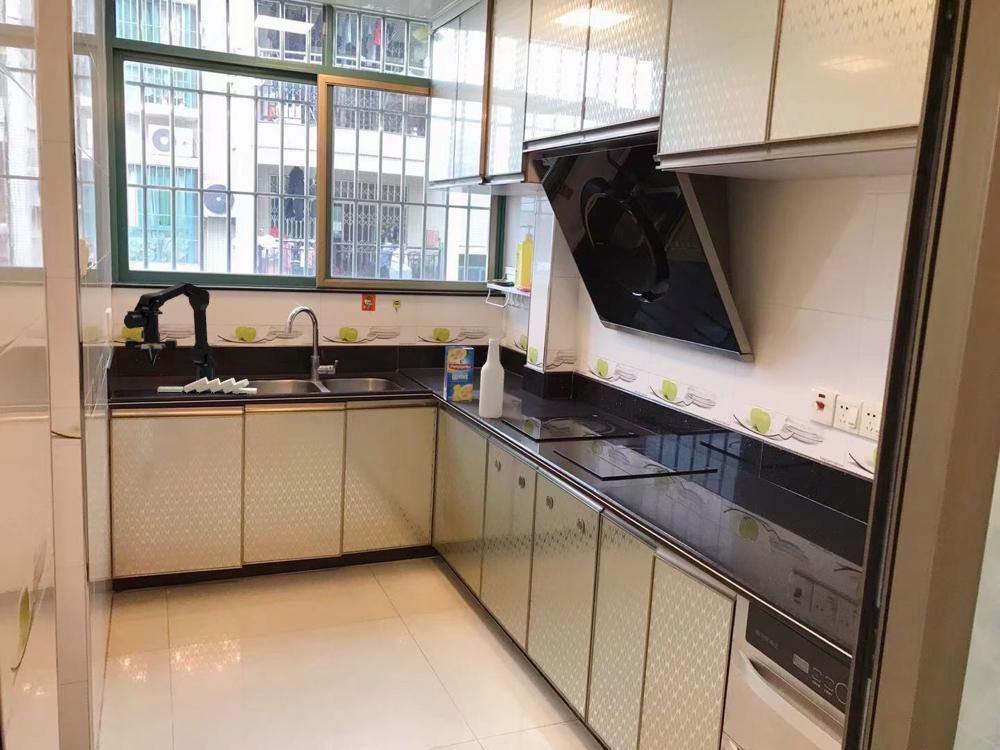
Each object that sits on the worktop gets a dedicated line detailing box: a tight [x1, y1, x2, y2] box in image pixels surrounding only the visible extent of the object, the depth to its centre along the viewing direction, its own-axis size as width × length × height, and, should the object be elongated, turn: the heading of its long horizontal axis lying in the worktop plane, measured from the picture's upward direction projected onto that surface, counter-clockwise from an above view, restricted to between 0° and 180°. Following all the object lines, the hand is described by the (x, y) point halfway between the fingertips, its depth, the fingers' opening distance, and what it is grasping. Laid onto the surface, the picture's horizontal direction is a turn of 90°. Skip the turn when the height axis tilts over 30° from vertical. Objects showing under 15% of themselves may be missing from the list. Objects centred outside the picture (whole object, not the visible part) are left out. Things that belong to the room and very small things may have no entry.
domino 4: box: [209, 377, 236, 393], centre depth 329 cm, size 2×5×9 cm
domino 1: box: [157, 386, 184, 393], centre depth 325 cm, size 2×5×9 cm
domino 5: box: [222, 378, 250, 394], centre depth 329 cm, size 2×5×9 cm
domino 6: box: [232, 387, 258, 395], centre depth 332 cm, size 2×5×9 cm
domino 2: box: [183, 377, 209, 393], centre depth 327 cm, size 2×5×9 cm
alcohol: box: [478, 337, 505, 419], centre depth 309 cm, size 9×9×30 cm
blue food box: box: [442, 345, 475, 402], centre depth 339 cm, size 7×11×22 cm, turn 104°
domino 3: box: [195, 377, 221, 393], centre depth 328 cm, size 2×5×9 cm
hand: (152, 364), depth 325 cm, fingers closed
